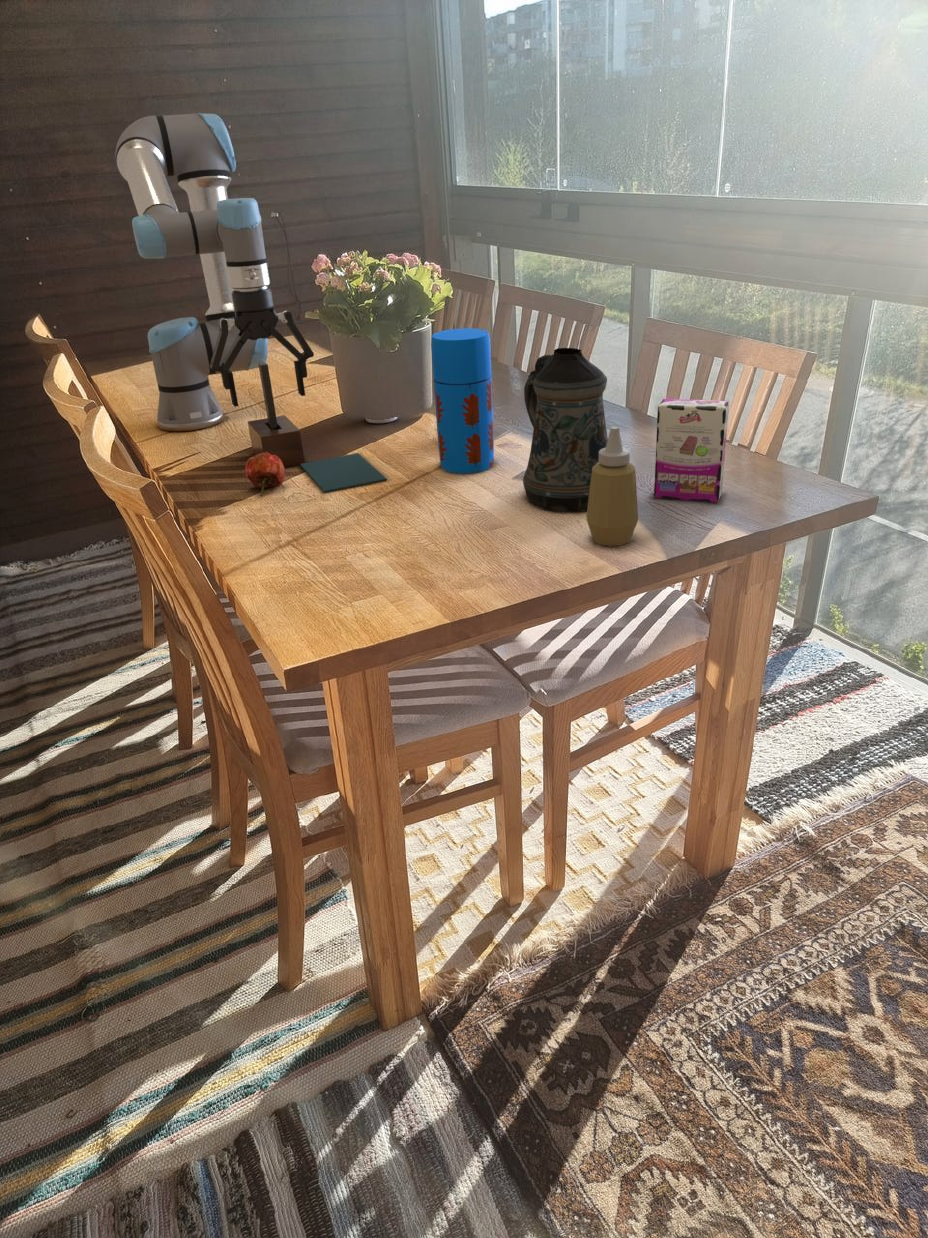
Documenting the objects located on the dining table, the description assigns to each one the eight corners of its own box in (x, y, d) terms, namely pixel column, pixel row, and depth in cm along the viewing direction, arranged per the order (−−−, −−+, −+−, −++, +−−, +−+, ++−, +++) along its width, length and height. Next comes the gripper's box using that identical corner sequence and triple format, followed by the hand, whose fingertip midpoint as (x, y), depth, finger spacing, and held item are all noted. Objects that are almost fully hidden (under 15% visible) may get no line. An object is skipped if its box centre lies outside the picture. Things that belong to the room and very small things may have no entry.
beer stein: (592, 519, 146) (595, 367, 134) (492, 501, 156) (486, 358, 144) (631, 487, 158) (637, 344, 146) (536, 472, 168) (534, 337, 156)
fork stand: (253, 453, 188) (247, 421, 184) (289, 447, 190) (284, 415, 187) (266, 470, 177) (260, 437, 174) (305, 463, 180) (300, 430, 176)
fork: (272, 455, 186) (256, 361, 176) (279, 454, 186) (264, 360, 177) (278, 463, 181) (262, 367, 172) (286, 461, 182) (270, 365, 172)
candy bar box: (722, 493, 153) (731, 399, 145) (718, 503, 149) (727, 408, 141) (657, 488, 157) (662, 396, 149) (652, 498, 153) (657, 404, 145)
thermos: (501, 457, 177) (497, 328, 164) (484, 475, 168) (478, 340, 156) (450, 454, 180) (442, 327, 168) (431, 471, 171) (421, 339, 159)
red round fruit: (286, 504, 166) (297, 459, 170) (267, 483, 160) (278, 437, 164) (252, 506, 169) (263, 462, 173) (232, 485, 163) (244, 440, 166)
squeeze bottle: (581, 531, 142) (582, 421, 134) (630, 527, 143) (634, 417, 134) (591, 551, 135) (593, 437, 127) (643, 547, 136) (649, 433, 127)
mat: (300, 465, 179) (299, 463, 179) (358, 454, 183) (358, 452, 183) (324, 492, 164) (324, 490, 164) (386, 480, 168) (386, 478, 168)
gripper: (186, 298, 160) (209, 413, 170) (319, 282, 169) (333, 393, 179) (181, 293, 166) (203, 405, 177) (309, 278, 175) (323, 386, 185)
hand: (269, 399), depth 178 cm, fingers open, 13 cm apart
